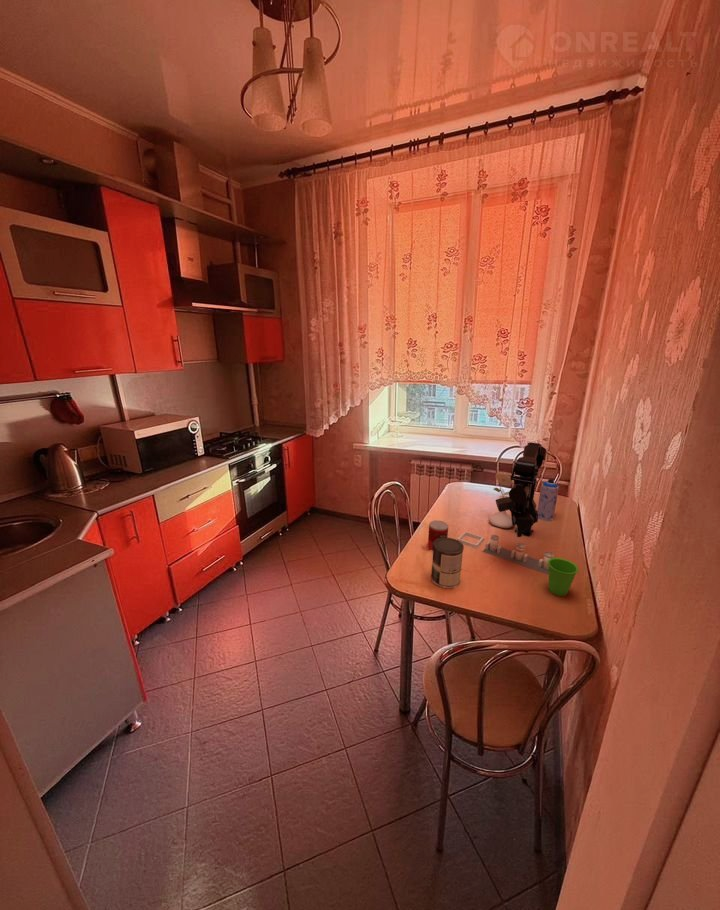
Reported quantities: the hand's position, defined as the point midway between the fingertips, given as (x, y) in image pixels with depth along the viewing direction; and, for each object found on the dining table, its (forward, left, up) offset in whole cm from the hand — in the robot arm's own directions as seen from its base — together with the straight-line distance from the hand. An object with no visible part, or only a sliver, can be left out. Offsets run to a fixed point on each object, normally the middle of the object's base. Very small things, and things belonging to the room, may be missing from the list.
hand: (516, 530), depth 137 cm
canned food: (+11, -27, -13) cm, 32 cm away
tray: (-2, -18, -13) cm, 22 cm away
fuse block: (-1, +2, -13) cm, 13 cm away
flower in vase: (-28, -14, -13) cm, 34 cm away
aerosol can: (-49, +1, -13) cm, 51 cm away
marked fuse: (-1, +2, -12) cm, 12 cm away
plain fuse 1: (-1, -8, -12) cm, 14 cm away
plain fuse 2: (-1, +12, -12) cm, 17 cm away
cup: (+11, +18, -13) cm, 25 cm away
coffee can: (+28, -15, -13) cm, 34 cm away
